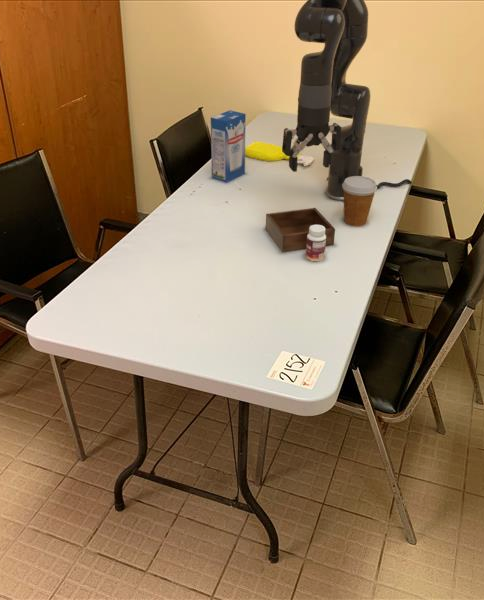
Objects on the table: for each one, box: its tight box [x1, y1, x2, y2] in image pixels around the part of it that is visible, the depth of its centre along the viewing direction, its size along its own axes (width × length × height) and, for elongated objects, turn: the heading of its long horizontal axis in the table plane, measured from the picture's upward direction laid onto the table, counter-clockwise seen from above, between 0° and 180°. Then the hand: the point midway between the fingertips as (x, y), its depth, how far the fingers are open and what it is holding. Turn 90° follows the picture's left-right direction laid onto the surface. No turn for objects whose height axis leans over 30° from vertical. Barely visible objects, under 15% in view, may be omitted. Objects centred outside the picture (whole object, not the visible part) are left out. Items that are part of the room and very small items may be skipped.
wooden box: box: [265, 207, 336, 253], centre depth 162 cm, size 15×14×5 cm
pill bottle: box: [305, 225, 326, 262], centre depth 152 cm, size 5×5×8 cm
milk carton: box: [210, 110, 247, 184], centre depth 193 cm, size 10×6×20 cm, turn 143°
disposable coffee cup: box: [342, 175, 378, 227], centre depth 168 cm, size 10×10×12 cm
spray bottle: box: [245, 141, 314, 167], centre depth 212 cm, size 3×11×24 cm
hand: (309, 168), depth 147 cm, fingers open, 8 cm apart
